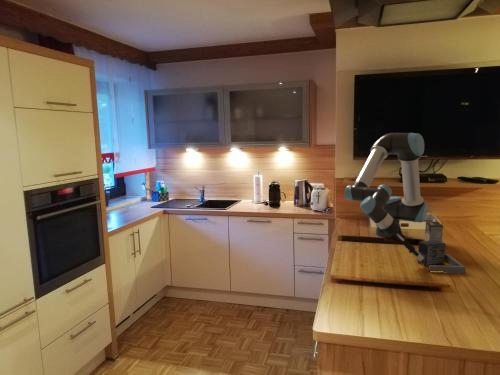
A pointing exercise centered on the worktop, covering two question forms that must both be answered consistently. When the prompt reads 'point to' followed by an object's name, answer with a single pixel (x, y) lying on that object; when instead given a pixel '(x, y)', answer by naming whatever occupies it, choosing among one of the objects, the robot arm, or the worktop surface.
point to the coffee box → (433, 231)
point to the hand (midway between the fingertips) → (421, 259)
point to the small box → (432, 252)
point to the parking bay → (454, 268)
